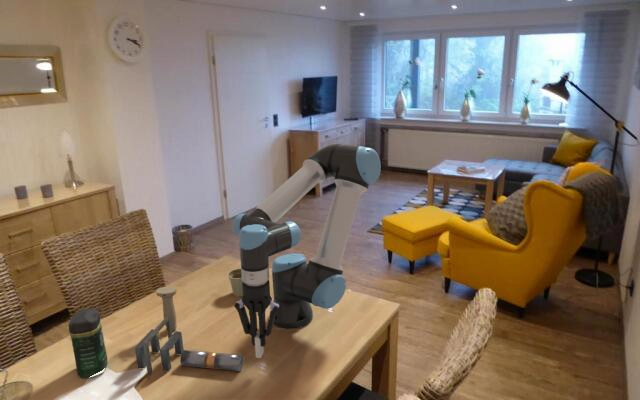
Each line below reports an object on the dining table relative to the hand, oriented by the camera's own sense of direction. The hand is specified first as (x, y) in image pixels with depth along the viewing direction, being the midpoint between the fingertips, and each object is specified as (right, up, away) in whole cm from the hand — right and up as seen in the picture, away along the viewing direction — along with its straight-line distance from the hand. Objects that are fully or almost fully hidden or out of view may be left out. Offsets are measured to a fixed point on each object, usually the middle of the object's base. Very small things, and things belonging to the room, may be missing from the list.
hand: (259, 354), depth 130 cm
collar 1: (-35, -4, +8) cm, 36 cm away
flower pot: (-14, +8, +47) cm, 50 cm away
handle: (-33, 0, +23) cm, 41 cm away
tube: (-14, -4, +4) cm, 16 cm away
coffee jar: (-50, -6, +4) cm, 50 cm away
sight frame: (-31, -4, +7) cm, 32 cm away
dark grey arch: (-27, -4, +7) cm, 28 cm away
